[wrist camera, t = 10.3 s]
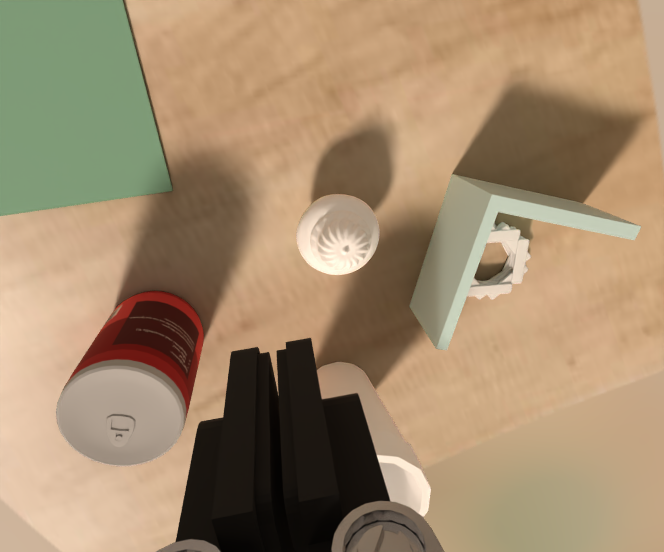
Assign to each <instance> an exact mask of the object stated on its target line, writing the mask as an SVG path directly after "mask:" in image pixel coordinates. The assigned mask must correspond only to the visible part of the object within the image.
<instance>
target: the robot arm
mask: <svg viewBox="0 0 664 552" xmlns="http://www.w3.org/2000/svg"><path fill="white" fill-rule="evenodd" d="M277 370H278V392H279V396H278V392H277V387H276V382H275V377H274V372H273V367H272V362H271V358H270V354H269V352H267V353H261V354H260V351H259V348H258V347H255V348H250V349H244V350H238V351H232V352H231V358H230V366H229V374H228V383H227V391H226V399H225V408H224V416H223V418H218V419H212V420H207V421H201V422H200V423H199V425H198V428H197V433H196V438H195V443H194V449H193V454H192V459H191V464H190V470H189V475H188V480H187V485H186V491H185V496H184V501H183V506H182V512H181V517H180V522H179V527H178V533H177V538H176V542H175V543H172V544H170V545H168V546H166V547H164V548H162V549H160V550H158V551H157V552H444V550H443V548H442V547H441V545H440V543H439V541H438V539H437V537H436V536H435V534H434V532H433V530H432V528H431V527H430V526H429V525H428V523H427V522H426V521H425V520H424V518H423V517H422V516H421V515H420V514H418V513H417V512H416V511H414V510H413V509H412V508H410V507H408V506H405V505H402V504H400V503H397V502H391V501H390V498H389V494H388V491H387V488H386V484H385V481H384V478H383V474H382V471H381V468H380V464H379V461H378V458H377V454H376V451H375V448H374V444H373V441H372V437H371V434H370V431H369V427H368V424H367V421H366V417H365V414H364V411H363V407H362V404H361V401H360V398H359V395H358V393H354V394H348V395H343V396H337V397H332V398H326V399H322V397H321V391H320V386H319V380H318V375H317V369H316V364H315V358H314V352H313V347H312V341H311V338H307V339H301V340H296V341H290V342H286V349H284V350H278V351H277Z"/></svg>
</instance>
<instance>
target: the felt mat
mask: <svg viewBox="0 0 664 552" xmlns="http://www.w3.org/2000/svg"><path fill="white" fill-rule="evenodd" d="M169 191H173V188H172V184H171V181H170V177H169V173H168V169H167V165H166V162H165V158H164V154H163V150H162V146H161V143H160V139H159V135H158V131H157V127H156V124H155V120H154V116H153V112H152V108H151V105H150V101H149V97H148V93H147V89H146V86H145V82H144V78H143V74H142V70H141V67H140V63H139V59H138V55H137V51H136V48H135V44H134V40H133V36H132V32H131V29H130V25H129V21H128V17H127V13H126V10H125V6H124V2H123V0H0V216H4V215H11V214H18V213H25V212H31V211H38V210H45V209H52V208H59V207H66V206H73V205H80V204H87V203H93V202H100V201H107V200H114V199H121V198H128V197H135V196H142V195H149V194H155V193H162V192H169Z"/></svg>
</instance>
